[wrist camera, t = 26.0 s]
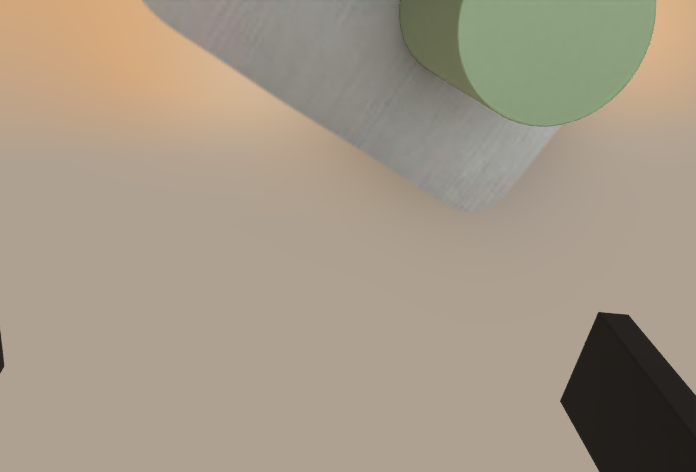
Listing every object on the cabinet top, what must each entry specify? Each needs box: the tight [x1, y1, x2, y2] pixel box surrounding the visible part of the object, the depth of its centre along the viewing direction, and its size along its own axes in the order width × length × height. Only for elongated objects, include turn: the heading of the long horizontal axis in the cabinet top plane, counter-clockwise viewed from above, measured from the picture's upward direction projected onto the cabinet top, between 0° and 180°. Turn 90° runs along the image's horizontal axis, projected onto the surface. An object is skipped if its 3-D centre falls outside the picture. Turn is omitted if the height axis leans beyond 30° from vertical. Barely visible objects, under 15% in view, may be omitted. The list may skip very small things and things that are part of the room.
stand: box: [400, 0, 656, 126], centre depth 30 cm, size 8×8×14 cm
